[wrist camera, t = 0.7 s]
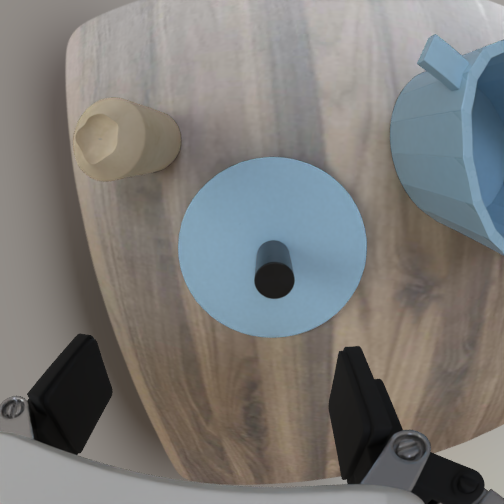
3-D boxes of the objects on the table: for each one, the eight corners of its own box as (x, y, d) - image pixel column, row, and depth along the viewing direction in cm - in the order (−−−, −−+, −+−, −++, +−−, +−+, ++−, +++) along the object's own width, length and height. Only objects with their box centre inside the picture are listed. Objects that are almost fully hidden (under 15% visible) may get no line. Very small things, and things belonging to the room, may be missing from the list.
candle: (173, 178, 26) (124, 193, 17) (119, 165, 26) (54, 175, 16) (189, 117, 24) (146, 99, 15) (133, 107, 24) (71, 90, 15)
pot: (402, 23, 20) (462, -26, 9) (534, 148, 22) (604, 158, 11) (334, 152, 25) (382, 153, 14) (484, 261, 27) (550, 306, 16)
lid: (231, 123, 24) (219, 113, 18) (395, 216, 26) (428, 234, 20) (156, 284, 29) (130, 318, 23) (304, 354, 31) (310, 398, 25)
